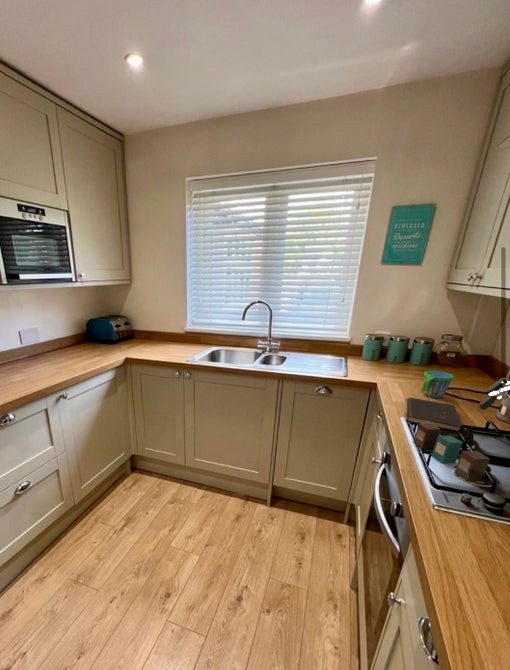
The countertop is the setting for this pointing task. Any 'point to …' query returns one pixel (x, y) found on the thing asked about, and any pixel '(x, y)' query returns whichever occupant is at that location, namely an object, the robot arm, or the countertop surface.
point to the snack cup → (436, 383)
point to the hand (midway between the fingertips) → (495, 413)
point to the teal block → (446, 449)
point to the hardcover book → (433, 413)
